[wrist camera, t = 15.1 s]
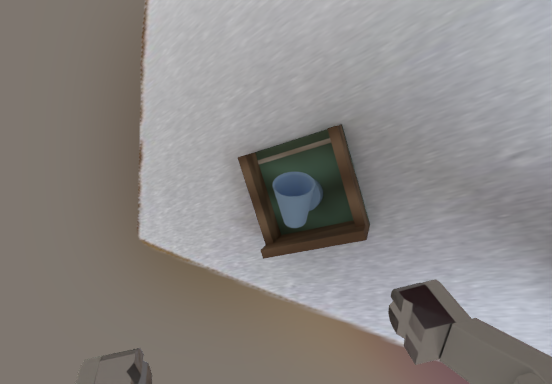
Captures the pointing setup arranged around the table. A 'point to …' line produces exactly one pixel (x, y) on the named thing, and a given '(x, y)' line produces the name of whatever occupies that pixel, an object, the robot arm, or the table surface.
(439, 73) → the table surface
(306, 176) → the spotlight
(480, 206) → the table surface
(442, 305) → the robot arm
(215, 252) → the table surface
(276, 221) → the wooden display tray
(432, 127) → the table surface
